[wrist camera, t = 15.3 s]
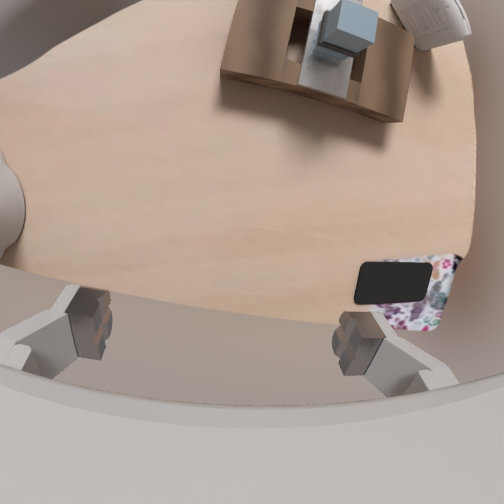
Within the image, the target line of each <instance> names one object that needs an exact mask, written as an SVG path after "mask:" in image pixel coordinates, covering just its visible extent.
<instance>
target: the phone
mask: <svg viewBox="0 0 504 504" xmlns="http://www.w3.org/2000/svg"><path fill="white" fill-rule="evenodd" d="M432 269H433V266H432V265H431V264H430V263H414V262H365V263H363V264H362V265H361V267H360V271H359V276H358V281H357V285H356V290H355V295H354V300H355V302H356V303H357V304H377V303H396V302H413V301H421V300H423V299H424V297H425V295H426V292H427V288H428V285H429V281H430V277H431V274H432Z"/></svg>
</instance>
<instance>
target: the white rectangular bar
mask: <svg viewBox="0 0 504 504" xmlns="http://www.w3.org/2000/svg"><path fill="white" fill-rule="evenodd" d="M339 1H340V0H314V4H313V9H312V13H311V18H310V23H309V28H308V32H307V37H306V42H305V47H304V51H303V56H302V61H301V65H300V70H299V75H298V79H297V84H296V86H299V87H303V88H307V89H310V90H314V91H317V92H320V93H324V94H327V95H330V96H333V97H336V98H340V99H346V95H347V90H348V85H349V80H350V74H351V69H352V64H353V58H352V57H349V58H347V59H345V60H344V59H341V58H338V57H335V56H332V55H329V54H326V53H323V52H320V51H317V50H314V45H315V40H316V35H317V30H318V25H319V22H320V21H321V20H322V16H323V13H324V12H325V11H326V10H329V11H331V10H332V9H333V7H334V6H335V5H336V4H337V3H338V2H339ZM349 1H351V2H354V3H356V4H359V5H361V6H362V2H363V0H349Z"/></svg>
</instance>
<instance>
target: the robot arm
mask: <svg viewBox="0 0 504 504" xmlns="http://www.w3.org/2000/svg"><path fill="white" fill-rule="evenodd" d="M24 217H25V204H24V197H23V192H22V189H21V186H20V184H19V181H18V179H17V178H16V176H15V174H14V173H13V172H12V171H11V169H10V168H9V167H8V166H7V165H6V163H5V160H4V157H3V154H2V152H1V150H0V259H1V258H2V256H3V254H4V252H5V250H6V248H8V247H9V246H10V245H12V244H13V243H14V242H15V241H16V240H17V238H18V237H19V235H20V233H21V230H22V227H23V223H24ZM110 301H111V299H110V292H109V291H108V290H105V289H99V288H93V287H87V286H81V285H75V284H68V285H67V286H66V287H65V288H64V290H63V291H62V293H61V294H60V296H59V297H58V299H57V300H56V302H55V303H54V305H53V306H52V308H51V309H50V310H44V311H42V312H40V313H38V314H36V315H34V316H32V317H30V318H28V319H26V320H24V321H22V322H20V323H18V324H16V325H14V326H12V327H10V328H8V329H6V330H4V331H2V332H0V504H504V372H503V373H499V374H496V375H492V376H489V377H485V378H482V379H478V380H474V381H470V382H466V383H462V384H459V382H458V381H457V379H456V378H455V376H454V375H453V373H452V372H451V371H450V369H449V368H448V366H447V365H445V364H444V363H442V362H440V361H438V360H437V359H435V358H434V357H432V356H431V355H429V354H427V353H426V352H424V351H423V350H421V349H419V348H418V347H416V346H414V345H413V344H411V343H410V342H408V341H406V340H404V339H403V338H398V336H397V335H396V333H395V332H394V330H393V329H392V327H391V326H390V324H389V323H388V321H387V320H386V318H385V317H384V315H383V314H382V313H381V312H347V311H344V312H343V313H342V314H341V316H340V319H339V322H340V326H339V327H338V328H337V329H336V330H335V332H334V334H333V337H332V348H333V351H334V354H335V355H336V356H338V357H339V358H340V360H339V366H340V368H341V370H342V372H343V375H344V376H355V375H364V377H365V378H366V379H367V380H369V381H370V382H371V383H372V384H373V385H374V386H375V387H376V388H378V390H379V391H381V392H382V393H383V394H384V395H385V396H386V397H387V398H380V399H373V400H364V401H354V402H343V403H330V404H312V405H282V406H253V405H252V406H251V405H248V406H247V405H222V404H221V405H220V404H204V403H191V402H179V401H170V400H161V399H153V398H146V397H139V396H131V395H126V394H120V393H113V392H108V391H103V390H98V389H92V388H88V387H83V386H78V385H73V384H70V383H65V382H61V381H57V380H53V378H54V377H55V376H57V375H58V374H59V373H60V372H61V371H63V370H64V369H65V368H66V367H68V366H69V365H70V364H71V363H72V362H74V361H75V360H76V359H77V358H78V357H82V358H88V359H94V360H101V359H102V356H103V353H104V350H105V348H106V346H105V340H107V339H108V338H109V336H110V333H111V329H112V311H111V310H110V309H109V307H108V306H109V304H110Z"/></svg>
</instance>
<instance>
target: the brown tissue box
mask: <svg viewBox="0 0 504 504" xmlns="http://www.w3.org/2000/svg"><path fill="white" fill-rule="evenodd" d="M313 4H314V0H239V1H238V4H237V8H236V11H235V15H234V18H233V22H232V25H231V29H230V33H229V37H228V40H227V44H226V48H225V52H224V56H223V60H222V64H221V68H220V78H225V79H230V80H236V81H241V82H246V83H251V84H256V85H260V86H265V87H269V88H273V89H278V90H282V91H286V92H290V93H294V94H297V95H301V96H305V97H308V98H312V99H315V100H319V101H322V102H325V103H329V104H332V105H335V106H338V107H341V108H344V109H347V110H350V111H353V112H356V113H359V114H362V115H365V116H368V117H370V118H373V119H376V120H378V121H381V122H384V123H394V122H403V117H404V112H405V106H406V100H407V94H408V88H409V81H410V74H411V67H412V59H413V50H414V40H415V35H413V34H412V33H410V32H408V31H406V30H404V29H402V28H400V27H398V26H396V25H394V24H392V23H389V22H387V21H385V20H383V19H381V18H379V17H378V20H377V28H376V35H375V41H374V44H372V45H370V46H368V47H366V48H364V49H363V50H361V51H359V56H358V57H356V58H353V64H352V69H351V74H350V80H349V85H348V90H347V95H346V99H340V98H336V97H333V96H330V95H327V94H324V93H320V92H317V91H314V90H310V89H307V88H303V87H299V86H296V84H297V79H298V75H299V70H300V65H301V63H297V62H294V61H290V60H286V59H285V55H286V51H287V46H288V42H289V37H290V33H291V29H292V24H293V21H295V22H298V23H302V24H305V25H309V23H310V18H311V13H312V9H313Z"/></svg>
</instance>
